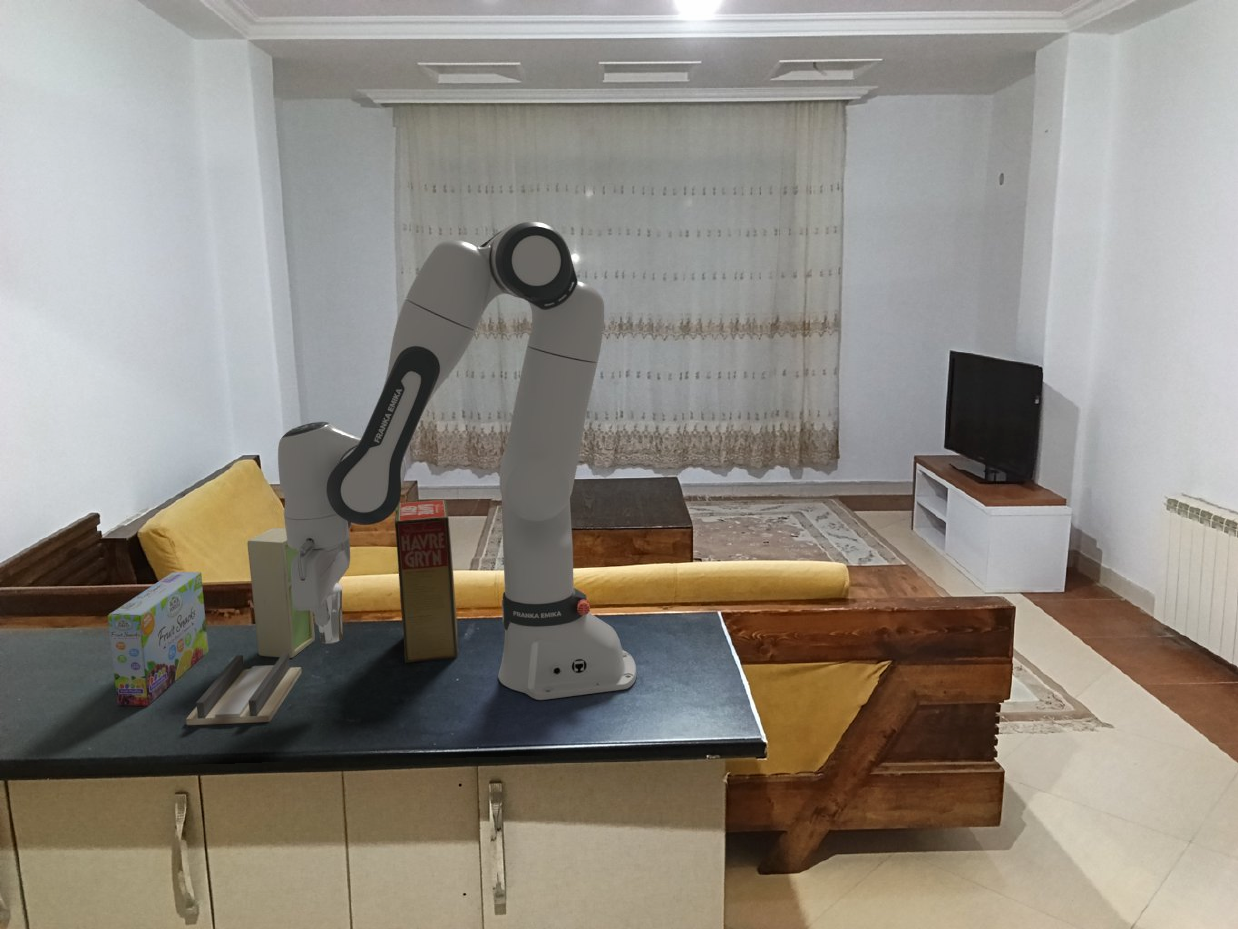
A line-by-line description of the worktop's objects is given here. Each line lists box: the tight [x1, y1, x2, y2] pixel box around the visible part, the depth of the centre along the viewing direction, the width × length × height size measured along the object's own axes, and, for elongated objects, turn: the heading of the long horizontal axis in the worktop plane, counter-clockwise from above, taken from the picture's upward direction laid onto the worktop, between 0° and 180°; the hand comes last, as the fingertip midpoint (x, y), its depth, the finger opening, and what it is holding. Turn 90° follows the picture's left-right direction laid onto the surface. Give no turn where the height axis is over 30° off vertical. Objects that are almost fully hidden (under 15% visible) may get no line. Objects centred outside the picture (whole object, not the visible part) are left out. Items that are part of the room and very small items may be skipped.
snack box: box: [107, 571, 209, 707], centre depth 150 cm, size 21×6×15 cm, turn 0°
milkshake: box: [317, 583, 344, 645], centre depth 141 cm, size 4×5×10 cm
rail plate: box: [185, 653, 302, 726], centre depth 143 cm, size 12×17×4 cm
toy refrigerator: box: [247, 527, 316, 659], centre depth 160 cm, size 8×7×21 cm
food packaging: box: [394, 499, 459, 663], centre depth 160 cm, size 13×9×25 cm
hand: (327, 617), depth 141 cm, fingers closed on milkshake, 4 cm apart
